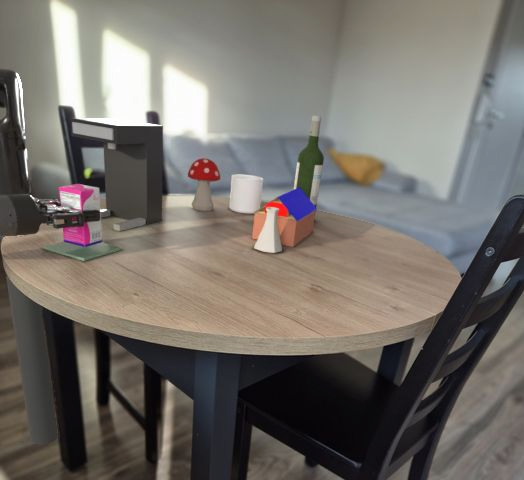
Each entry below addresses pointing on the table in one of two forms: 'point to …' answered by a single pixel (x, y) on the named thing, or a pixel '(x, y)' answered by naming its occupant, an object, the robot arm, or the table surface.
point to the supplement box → (81, 200)
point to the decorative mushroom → (203, 182)
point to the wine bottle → (310, 164)
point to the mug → (245, 193)
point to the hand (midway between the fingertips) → (90, 210)
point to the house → (288, 217)
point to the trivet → (82, 250)
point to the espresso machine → (128, 167)
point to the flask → (269, 233)
